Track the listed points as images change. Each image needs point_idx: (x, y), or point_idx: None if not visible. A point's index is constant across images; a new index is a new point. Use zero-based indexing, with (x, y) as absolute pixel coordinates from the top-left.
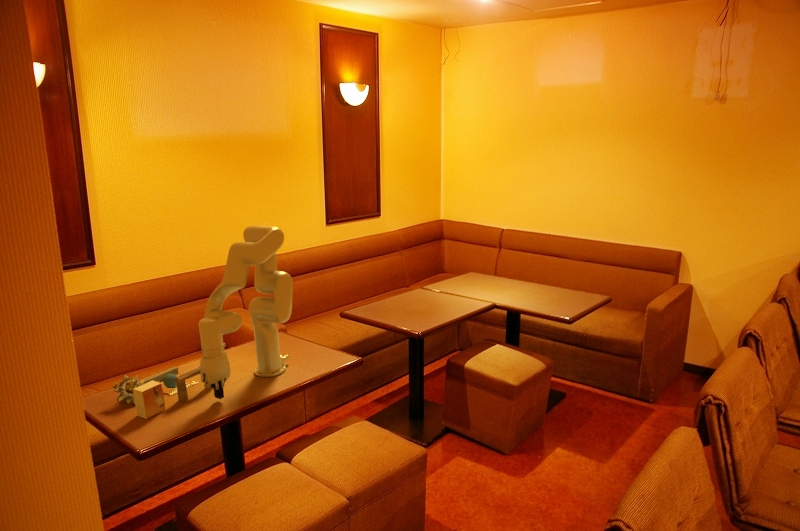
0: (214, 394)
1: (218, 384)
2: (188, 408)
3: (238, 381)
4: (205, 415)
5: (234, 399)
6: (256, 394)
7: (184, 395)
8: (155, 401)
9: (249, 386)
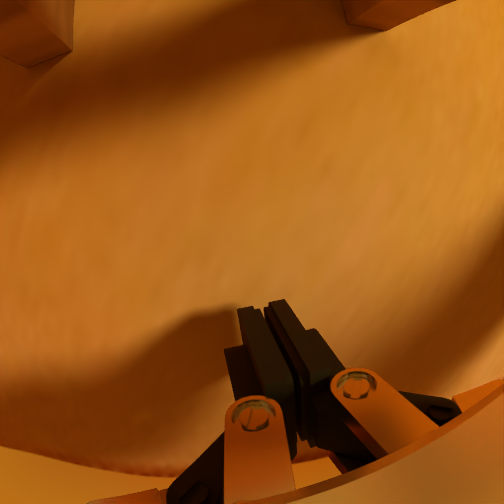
0: (227, 361)
1: (336, 424)
2: (3, 224)
3: (493, 133)
4: (80, 414)
5: None
6: (425, 379)
7: (13, 44)
8: None
9: (482, 259)
